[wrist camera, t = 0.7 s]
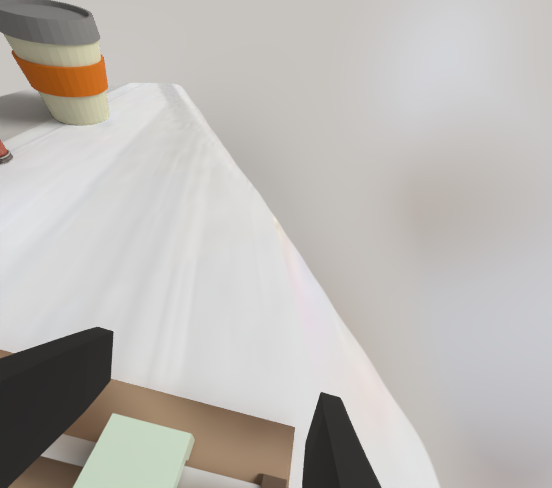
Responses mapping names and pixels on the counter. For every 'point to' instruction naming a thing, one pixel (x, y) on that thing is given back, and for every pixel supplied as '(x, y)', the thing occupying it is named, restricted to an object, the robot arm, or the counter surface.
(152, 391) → the rod board
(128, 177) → the counter surface
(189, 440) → the sleeve
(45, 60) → the reusable coffee cup
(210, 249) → the counter surface
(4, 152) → the lighter
